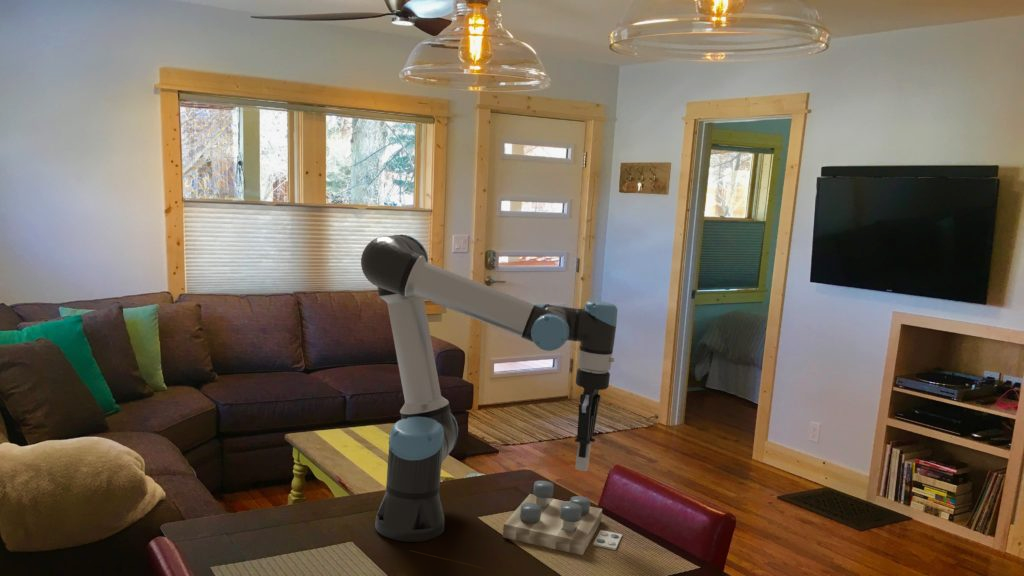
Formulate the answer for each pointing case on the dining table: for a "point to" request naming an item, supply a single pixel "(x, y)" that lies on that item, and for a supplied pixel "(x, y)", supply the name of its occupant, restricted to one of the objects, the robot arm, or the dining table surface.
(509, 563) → the dining table surface
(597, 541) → the tile
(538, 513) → the button
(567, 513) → the button
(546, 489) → the button
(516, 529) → the board
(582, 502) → the button
